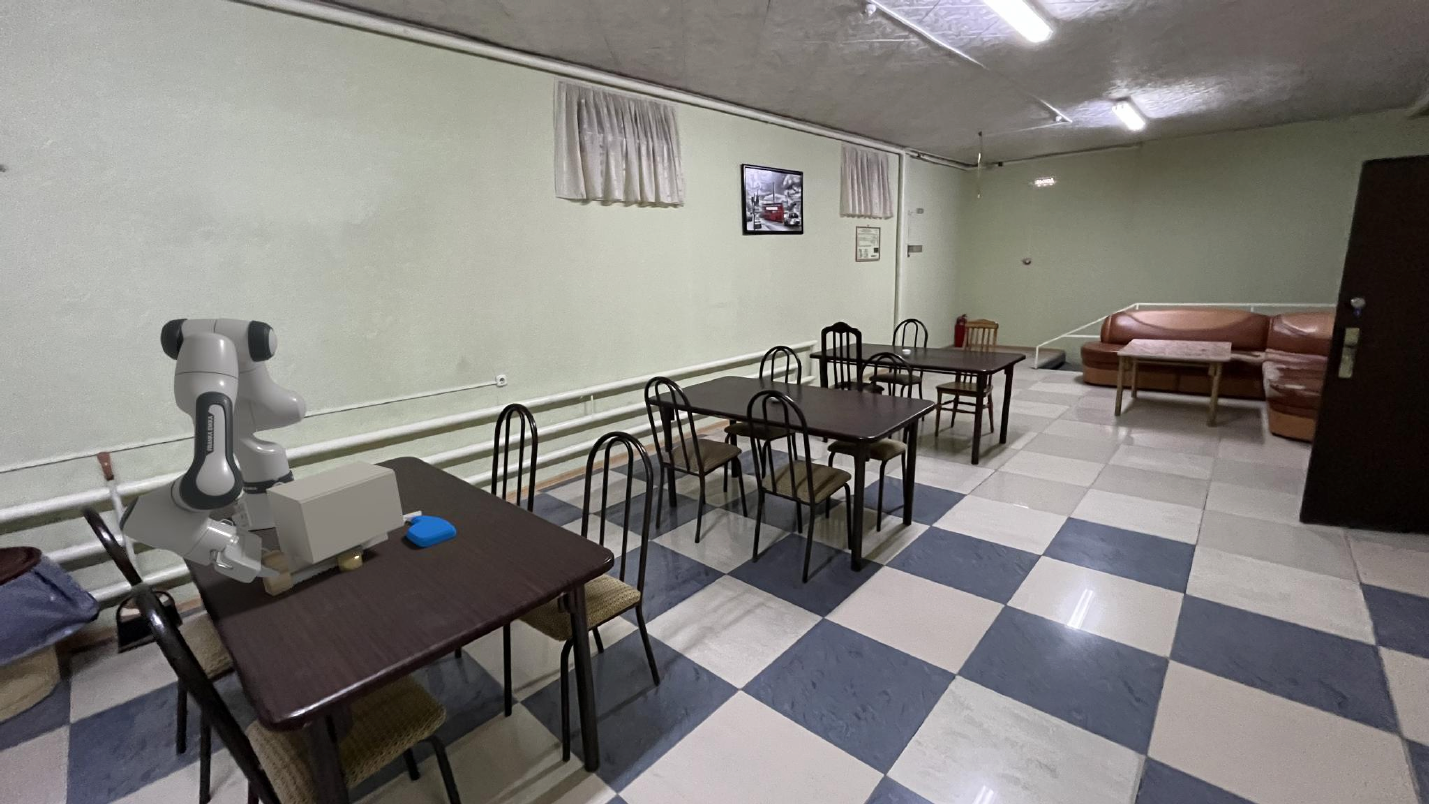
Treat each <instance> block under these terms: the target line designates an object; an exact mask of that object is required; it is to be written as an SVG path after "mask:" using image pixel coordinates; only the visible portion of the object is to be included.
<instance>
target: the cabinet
mask: <svg viewBox="0 0 1429 804" xmlns="http://www.w3.org/2000/svg"><path fill="white" fill-rule="evenodd" d="M398 487H399V486H398V481H397V477H396V471H394V469H392V468H388V467H384V466H380V465H377V464H373V463H370V462H369V463H368V462H365V461H361V460H357V461H353V462H350V463H348V464H344V465H341V466H338V467H334V468H331V469H328V470H326V471H322V472H319V473H315V474H311V475H308V476H305V477H302V478H299V479H296V480H295V479H294V481H291V482H288V483H285V484H282V485H278V486H275V487H272V488H269V489H266V491H267V495H268V499H269V503H270V507H271V512H272V516H273V520H274V524H275V527H274V528H275V532H276V536H277V539H278V545H279V547H280V551H281V552H283V553H285V555H286V560H287V564H288V568H289V572H290V573H292V572H294V571H297V570H299V569H301V568H304V567H306V566H308V565H311V564H315V563H317V562H319V561H322V560H324V559H326V558H329V557H331V556H333V555H336V554H338V553H340V552H343V551H345V550H347V549H350V548H352V547H354V546H357V545H361V546H362V548H363V551H364V550H366V549H368V548H370V547H373V546H375V545H377V544H380V543H382V542H384V541H387V540H389V536H388V533H389V532H392V531H393V530H397V529H398V528H401V527H404V526H405V522H404V519H403V509H402V505H401V499H400V493H399V488H398Z"/></svg>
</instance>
